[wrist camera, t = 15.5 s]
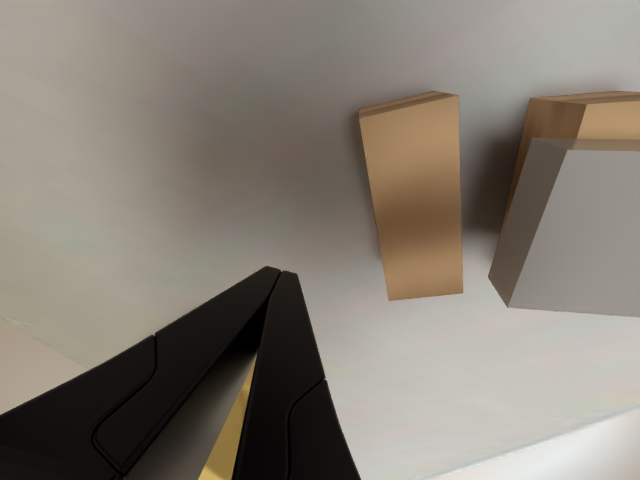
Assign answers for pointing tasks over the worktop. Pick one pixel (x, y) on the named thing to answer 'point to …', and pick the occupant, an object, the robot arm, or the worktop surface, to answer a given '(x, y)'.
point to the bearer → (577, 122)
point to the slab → (573, 229)
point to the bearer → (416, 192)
